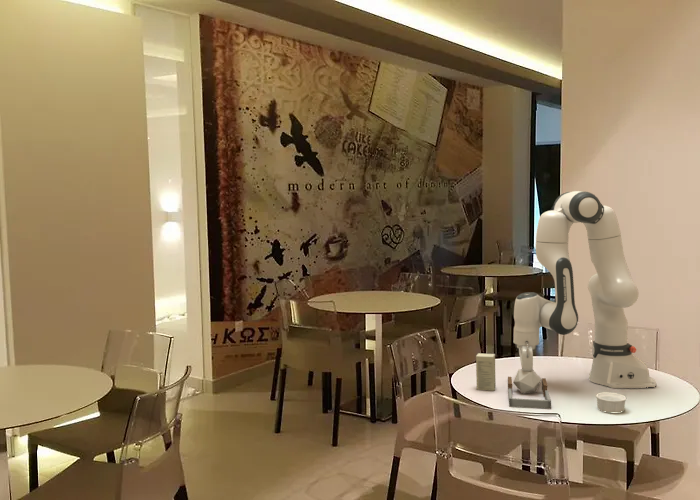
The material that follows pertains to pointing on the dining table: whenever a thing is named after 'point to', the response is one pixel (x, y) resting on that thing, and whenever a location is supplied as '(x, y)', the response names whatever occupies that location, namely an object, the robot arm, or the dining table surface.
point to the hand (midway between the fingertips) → (525, 376)
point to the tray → (529, 401)
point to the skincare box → (485, 371)
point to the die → (527, 381)
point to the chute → (544, 384)
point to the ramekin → (611, 402)
